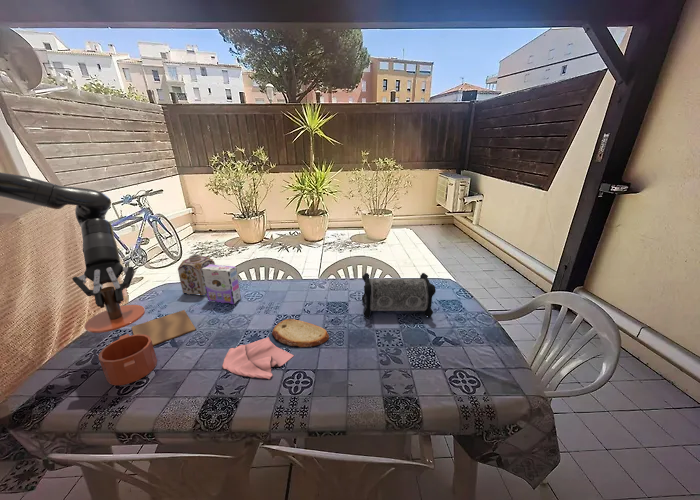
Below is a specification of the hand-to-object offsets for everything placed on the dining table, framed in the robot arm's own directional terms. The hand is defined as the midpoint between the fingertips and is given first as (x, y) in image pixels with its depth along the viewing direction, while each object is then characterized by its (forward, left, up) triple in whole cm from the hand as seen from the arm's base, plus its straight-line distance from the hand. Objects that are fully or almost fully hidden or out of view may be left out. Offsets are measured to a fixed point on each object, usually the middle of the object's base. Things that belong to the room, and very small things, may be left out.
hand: (110, 304), depth 75 cm
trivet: (+11, +20, -24) cm, 33 cm away
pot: (0, +2, -24) cm, 24 cm away
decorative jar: (+31, +45, -24) cm, 60 cm away
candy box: (+36, +27, -24) cm, 51 cm away
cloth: (+31, -20, -24) cm, 44 cm away
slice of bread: (+48, -18, -24) cm, 57 cm away
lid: (0, +2, -6) cm, 6 cm away
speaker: (+88, -31, -24) cm, 97 cm away
